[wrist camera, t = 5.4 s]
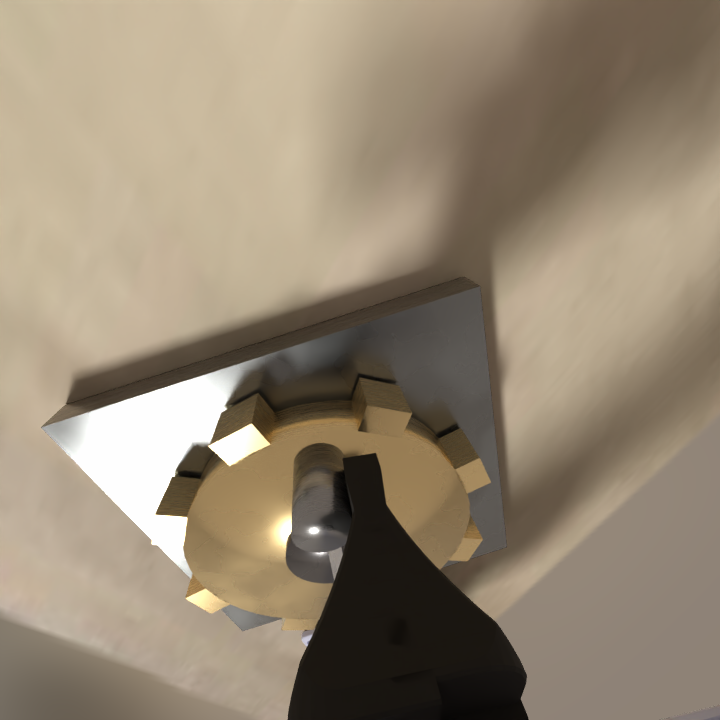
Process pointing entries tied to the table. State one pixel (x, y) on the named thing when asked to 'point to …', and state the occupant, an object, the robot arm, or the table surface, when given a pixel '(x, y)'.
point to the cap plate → (296, 402)
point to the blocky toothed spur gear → (311, 499)
